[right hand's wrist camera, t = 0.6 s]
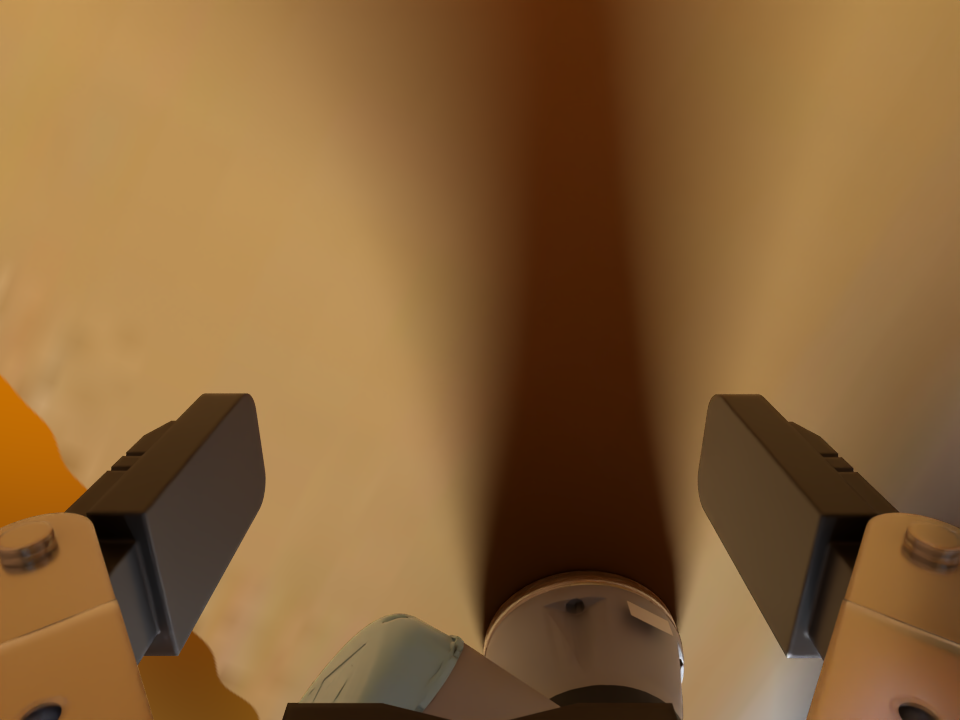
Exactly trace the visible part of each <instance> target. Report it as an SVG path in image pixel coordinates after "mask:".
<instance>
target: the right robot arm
mask: <svg viewBox="0 0 960 720" xmlns="http://www.w3.org/2000/svg"><path fill="white" fill-rule="evenodd" d="M698 491H699V497H700V501H701V505H702V507H703V509H704V511H705V513H706V515H707V517H708V518H709V520H710V522H711V524H712V525H713V527H714V529H715V531H716V533H717V534H718V536H719V538H720V540H721V541H722V543H723V545H724V547H725V549H726V550H727V552H728V554H729V556H730V558H731V559H732V561H733V563H734V565H735V566H736V568H737V570H738V572H739V574H740V575H741V577H742V579H743V581H744V582H745V584H746V586H747V588H748V590H749V591H750V593H751V595H752V597H753V598H754V600H755V602H756V604H757V606H758V607H759V609H760V611H761V613H762V614H763V616H764V618H765V620H766V622H767V623H768V625H769V627H770V629H771V630H772V632H773V634H774V636H775V638H776V639H777V641H778V643H779V645H780V646H781V648H782V650H783V652H784V654H785V655H786V657H787V658H822V659H823V661H824V663H823V666H822V670H821V673H820V676H819V679H818V683H817V686H816V689H815V693H814V696H813V699H812V702H811V706H810V709H809V712H808V716H807V719H806V720H960V528H958V527H955V526H953V525H951V524H948V523H946V522H943V521H940V520H937V519H933V518H930V517H926V516H921V515H916V514H909V513H900V512H899V511H897V510H896V509H895V508H894V507H893V506H892V505H891V504H890V503H889V502H888V501H887V500H886V499H885V498H884V497H883V496H882V495H881V494H880V493H879V492H878V491H877V490H876V489H874V488H873V487H872V486H871V485H870V484H869V483H868V482H867V481H866V480H865V479H864V478H863V477H862V476H861V475H860V474H859V473H858V472H854V471H853V468H852V467H851V466H850V465H849V464H848V463H847V462H846V461H845V460H844V459H843V458H842V457H838V453H837V452H836V451H835V450H834V449H833V448H832V447H830V446H829V445H828V444H827V443H826V442H825V441H824V440H823V439H822V438H821V437H820V436H818V435H816V434H814V433H812V432H811V431H809V430H807V429H805V428H803V427H801V426H799V425H797V424H796V423H794V422H788V421H787V420H786V419H785V418H784V417H783V416H782V415H781V414H780V413H779V412H778V411H777V410H776V409H775V408H774V407H773V406H772V405H771V404H770V403H769V402H768V401H767V400H766V399H765V398H764V397H763V396H761V395H759V394H716V395H714V396H713V397H712V398H711V400H710V403H709V406H708V411H707V417H706V424H705V431H704V437H703V444H702V451H701V457H700V464H699V471H698ZM264 492H265V468H264V461H263V454H262V447H261V440H260V434H259V427H258V420H257V413H256V407H255V403H254V400H253V398H252V397H251V395H250V394H202V395H201V396H200V397H199V398H198V399H197V400H196V401H195V402H194V403H193V404H192V405H191V406H190V407H189V408H188V409H187V410H186V411H185V412H184V413H183V414H182V415H181V416H180V417H179V418H178V419H177V420H176V421H170V422H168V423H166V424H165V425H163V426H161V427H159V428H157V429H155V430H153V431H152V432H150V433H148V434H146V435H144V436H143V437H142V438H141V439H140V440H139V441H138V442H137V443H136V444H135V445H134V446H133V447H132V448H131V449H130V450H129V451H127V452H126V456H122V457H121V458H120V459H119V460H118V461H117V462H116V463H115V464H114V465H113V466H112V467H111V471H107V472H106V473H105V474H104V475H103V476H102V477H101V478H99V479H98V480H97V481H96V482H95V483H94V484H93V485H92V486H91V487H90V488H89V489H88V490H87V491H86V492H85V493H84V494H83V495H82V496H81V497H80V498H79V499H78V500H77V501H76V502H75V503H74V504H73V505H71V506H70V507H69V508H68V509H67V510H66V511H65V512H64V513H51V514H44V515H39V516H34V517H30V518H27V519H23V520H20V521H17V522H14V523H12V524H9V525H7V526H5V527H2V528H0V720H154V719H153V716H152V712H151V709H150V706H149V702H148V699H147V696H146V693H145V689H144V686H143V683H142V679H141V676H140V673H139V670H138V666H137V665H138V664H139V662H140V661H141V659H142V657H143V656H178V655H179V653H180V651H181V649H182V648H183V646H184V644H185V642H186V640H187V639H188V637H189V635H190V633H191V631H192V630H193V628H194V626H195V624H196V622H197V621H198V619H199V617H200V615H201V613H202V612H203V610H204V608H205V606H206V604H207V603H208V601H209V599H210V597H211V595H212V594H213V592H214V590H215V588H216V586H217V585H218V583H219V581H220V579H221V577H222V576H223V574H224V572H225V570H226V568H227V567H228V565H229V563H230V561H231V559H232V558H233V556H234V554H235V552H236V550H237V549H238V547H239V545H240V543H241V541H242V540H243V538H244V536H245V534H246V532H247V531H248V529H249V527H250V525H251V523H252V522H253V520H254V518H255V516H256V514H257V513H258V511H259V509H260V507H261V504H262V501H263V497H264ZM282 720H450V719H446V718H442V717H437V716H433V715H429V714H425V713H421V712H417V711H413V710H409V709H405V708H401V707H397V706H393V705H389V704H384V703H288V704H287V707H286V710H285V713H284V716H283V719H282ZM510 720H678V719H677V716H676V713H675V710H674V707H673V704H672V703H576V704H571V705H567V706H563V707H559V708H555V709H551V710H547V711H543V712H539V713H535V714H531V715H527V716H523V717H518V718H514V719H510Z"/></svg>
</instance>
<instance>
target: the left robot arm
mask: <svg viewBox="0 0 960 720" xmlns="http://www.w3.org/2000/svg"><path fill="white" fill-rule="evenodd" d="M683 673H684V655H683V648H682V642H681V639H680V635H679V633H678V630H677V628H676V625H675V622H674V620H673V618H672V615H671V613H670V612H669V610H668V608H667V607H666V606H665V604H664V603H663V602H662V601H661V600H660V599H659V597H658V596H656V595H655V594H654V593H653V592H652V591H650V590H649V589H648V588H646V587H645V586H643V585H641V584H639V583H637V582H636V581H633V580H631V579H629V578H626V577H623V576H620V575H616V574H612V573H607V572H600V571H573V572H566V573H560V574H556V575H552V576H549V577H546V578H543V579H540V580H538V581H536V582H533V583H531V584H529V585H527V586H526V587H524V588H522V589H521V590H519V591H518V592H516V593H515V594H514V595H512V596H511V597H510V598H509V599H508V600H507V601H506V602H505V603H504V604H503V605H502V606H501V607H500V608H499V610H498V611H497V612H496V614H495V615H494V617H493V618H492V620H491V622H490V624H489V627H488V629H487V632H486V636H485V641H484V656H483V655H482V654H480V653H479V652H477V651H476V650H474V649H473V648H471V647H470V646H468V645H467V644H465V643H464V641H462V640H461V638H459V637H458V636H453V635H450V636H448V635H446V634H445V633H443V632H441V631H439V630H437V629H435V628H434V627H432V626H430V625H428V624H427V623H425V622H423V621H421V620H419V619H418V618H416V617H413V616H410V615H406V614H392V615H387V616H384V617H382V618H380V619H378V620H376V621H374V622H372V623H370V624H369V625H368V626H366V627H365V628H363V629H362V630H361V631H360V632H358V633H357V634H356V635H355V636H354V637H353V638H352V639H351V640H350V641H349V642H348V643H347V644H345V645H344V647H343V648H342V649H341V650H340V651H339V652H338V653H337V654H336V655H335V656H334V657H333V659H332V660H331V661H330V662H329V663H328V664H327V666H326V667H325V668H324V669H323V671H322V672H321V673H320V674H319V676H318V677H317V678H316V679H315V681H314V682H313V683H312V685H311V686H310V687H309V689H308V690H307V691H306V693H305V694H304V696H303V697H302V698H301V700H300V701H299V703H384V704H389V705H393V706H397V707H401V708H405V709H409V710H413V711H417V712H421V713H425V714H429V715H433V716H437V717H442V718H446V719H450V720H510V719H514V718H518V717H523V716H527V715H531V714H535V713H539V712H543V711H547V710H551V709H555V708H559V707H563V706H567V705H571V704H576V703H672V704H673V707H674V710H675V713H676V716H677V719H678V720H683V699H682V689H681V683H682V679H683Z"/></svg>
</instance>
